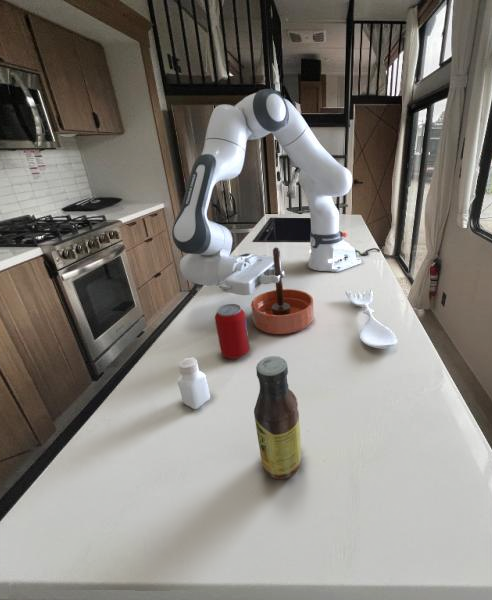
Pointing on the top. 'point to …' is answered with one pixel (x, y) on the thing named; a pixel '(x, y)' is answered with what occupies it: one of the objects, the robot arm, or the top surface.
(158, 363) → the top surface
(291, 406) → the sauce bottle
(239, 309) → the beverage can
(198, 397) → the pepper shaker
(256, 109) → the robot arm
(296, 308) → the bowl
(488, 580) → the top surface
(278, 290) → the brown rod on stand
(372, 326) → the spoon
